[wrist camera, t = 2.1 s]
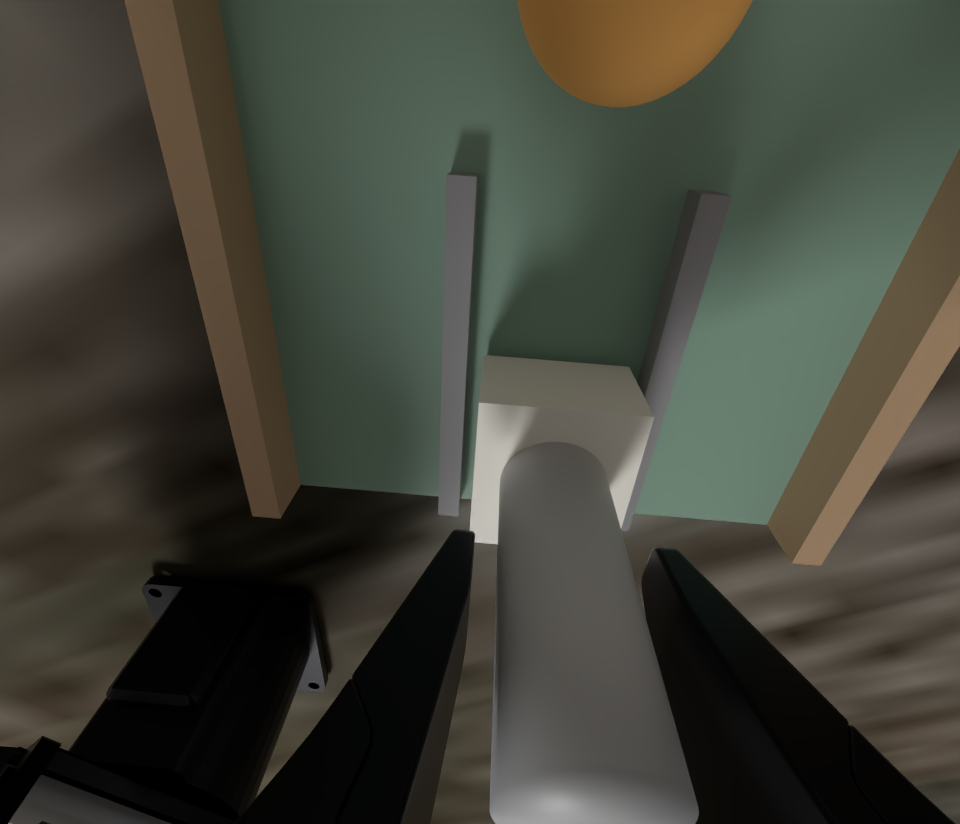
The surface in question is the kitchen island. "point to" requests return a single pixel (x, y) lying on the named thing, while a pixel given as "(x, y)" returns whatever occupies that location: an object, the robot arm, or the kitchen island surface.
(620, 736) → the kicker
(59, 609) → the kitchen island surface
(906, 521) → the kitchen island surface
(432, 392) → the pitch
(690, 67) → the ball
